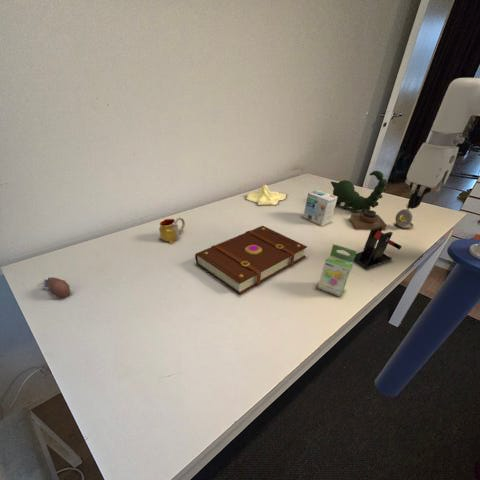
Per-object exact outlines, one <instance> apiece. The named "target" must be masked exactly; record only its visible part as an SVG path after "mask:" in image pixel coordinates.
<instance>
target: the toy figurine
mask: <svg viewBox="0 0 480 480" xmlns="http://www.w3.org/2000/svg"><path fill="white" fill-rule="evenodd" d="M371 176H374V177H375V178H376V180H377V181H378V182H377V184H376V185H375V187H374V189H373V191H371V192H370V195H368V196H367V197H364V196H362V195H360V193H359V192H358V191H357V190H356V189H355V185H354V184H353V182H352V181H350V180H347V179H344V180H341V181H339V182H337V181H330V184H331V186H332V187H333V190H332V195H334V196H337V197H338V198H337V201H336V205H335V206H339V205H341V203H343V209H345V210H348V209H349V208H352V210H351V211H352V212H353V213H357V212H359V211H361V214H362V213H363V212H366V211H367V210H371V208H372V209H374V208H376V207H378V206H379V202H378V201H379V200H380V199H382V198H383V193H384V192H386V190H387V188H386V186H389V182H388V180H387V179H386V178H384V173H382V172H381V171H380V170H373V171H372V172H370V173H369V177H371Z"/></svg>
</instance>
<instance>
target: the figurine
mask: <svg viewBox="0 0 480 480" xmlns="http://www.w3.org/2000/svg"><path fill="white" fill-rule="evenodd" d="M40 287H41V288H47V289H48V291H49V293H50V294H52V295H53V296H55V297H57V298H61V299H65V298H67V297H69V296H70V293H71V288H70V287H71V286H70V284H68V282H67V281H66V280H65V279H61V278H60V277H51V276H50V277H48V278H47V279H46V278H44V279H43V284H41V285H40Z"/></svg>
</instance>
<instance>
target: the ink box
mask: <svg viewBox="0 0 480 480" xmlns="http://www.w3.org/2000/svg"><path fill="white" fill-rule="evenodd" d="M331 246H332V247H331V249H330V253H329V256H327V258H326V259H325V261H324V264H323V267H322V271H321V274H320V278H319V282H318V285H317V286H318V287H317V289H318V290H321V291H324V292H326V293H329V294H332V295H335V296H337V297H340V296H341V294H342V293H343V291H344V290H345V287H346V284H347V281H348V278H349V276H350V273H351V270H352V268H353V265H354V258H355V256H356V254H357V253H358V250H355V249H351V248H348V247H345V246H341V245H338V244H332V245H331ZM338 251H343V252H346V253H347V254H344V253H341V252H338ZM348 254H349V255H348Z"/></svg>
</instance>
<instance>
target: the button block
mask: <svg viewBox="0 0 480 480" xmlns="http://www.w3.org/2000/svg"><path fill="white" fill-rule="evenodd" d="M365 213H366V212H363V213H362V212H361V214H359V213H351V214H350V216H349V221H350V222H351V224H352V225H353V227H354V228H355V229H356V230H367V231H368V230H369V231H371V229H374V228H377V227H382V228H383V229H382V231H385V230H386V228H387V223H386V222H385V221H384V220H383V219H382V217H381V216H380V215H379V214H377V213H376V215H375V217H374V218H370V217H366V216H365Z"/></svg>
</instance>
